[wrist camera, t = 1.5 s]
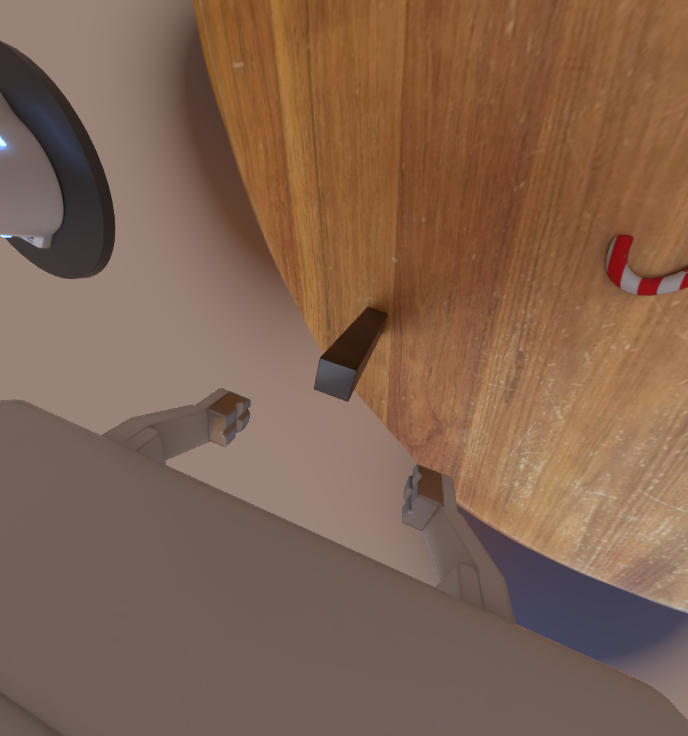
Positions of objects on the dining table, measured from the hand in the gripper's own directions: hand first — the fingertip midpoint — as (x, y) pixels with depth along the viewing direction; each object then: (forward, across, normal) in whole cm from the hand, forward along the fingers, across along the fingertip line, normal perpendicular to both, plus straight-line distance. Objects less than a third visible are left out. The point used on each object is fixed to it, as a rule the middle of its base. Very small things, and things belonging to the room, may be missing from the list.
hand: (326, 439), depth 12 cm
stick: (+18, +1, 0) cm, 19 cm away
